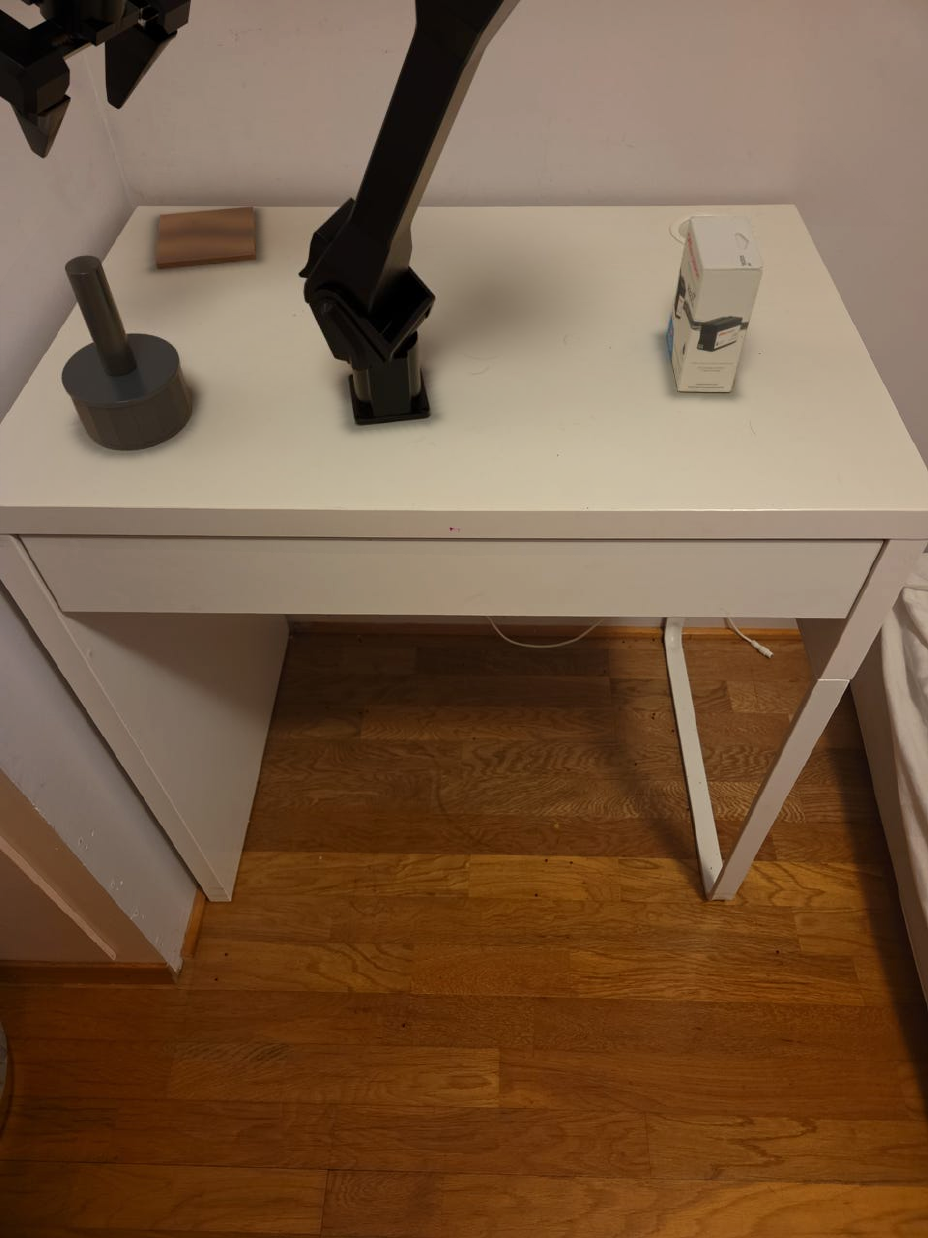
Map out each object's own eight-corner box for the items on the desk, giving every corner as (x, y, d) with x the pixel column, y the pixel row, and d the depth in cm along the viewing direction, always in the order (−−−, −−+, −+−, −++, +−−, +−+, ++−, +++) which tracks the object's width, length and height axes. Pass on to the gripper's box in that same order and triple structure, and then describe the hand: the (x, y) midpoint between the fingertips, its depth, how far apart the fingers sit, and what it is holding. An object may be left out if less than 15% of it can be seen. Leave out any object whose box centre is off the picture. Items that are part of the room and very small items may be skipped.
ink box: (664, 335, 83) (688, 212, 74) (718, 336, 83) (748, 212, 74) (675, 393, 78) (702, 268, 69) (732, 393, 78) (766, 268, 69)
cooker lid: (180, 407, 71) (143, 292, 63) (59, 420, 71) (7, 306, 63) (184, 338, 77) (150, 225, 69) (72, 350, 76) (25, 237, 68)
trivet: (255, 259, 92) (254, 253, 92) (157, 268, 91) (155, 263, 91) (254, 211, 98) (253, 205, 98) (161, 219, 97) (160, 214, 97)
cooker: (190, 443, 75) (176, 399, 71) (79, 456, 74) (59, 412, 70) (192, 377, 80) (179, 334, 77) (89, 388, 79) (71, 345, 76)
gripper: (68, -196, 62) (64, 24, 75) (-143, -127, 51) (-105, 115, 64) (207, -95, 63) (180, 105, 76) (29, -8, 52) (33, 207, 65)
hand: (78, 128), depth 70 cm, fingers open, 9 cm apart
